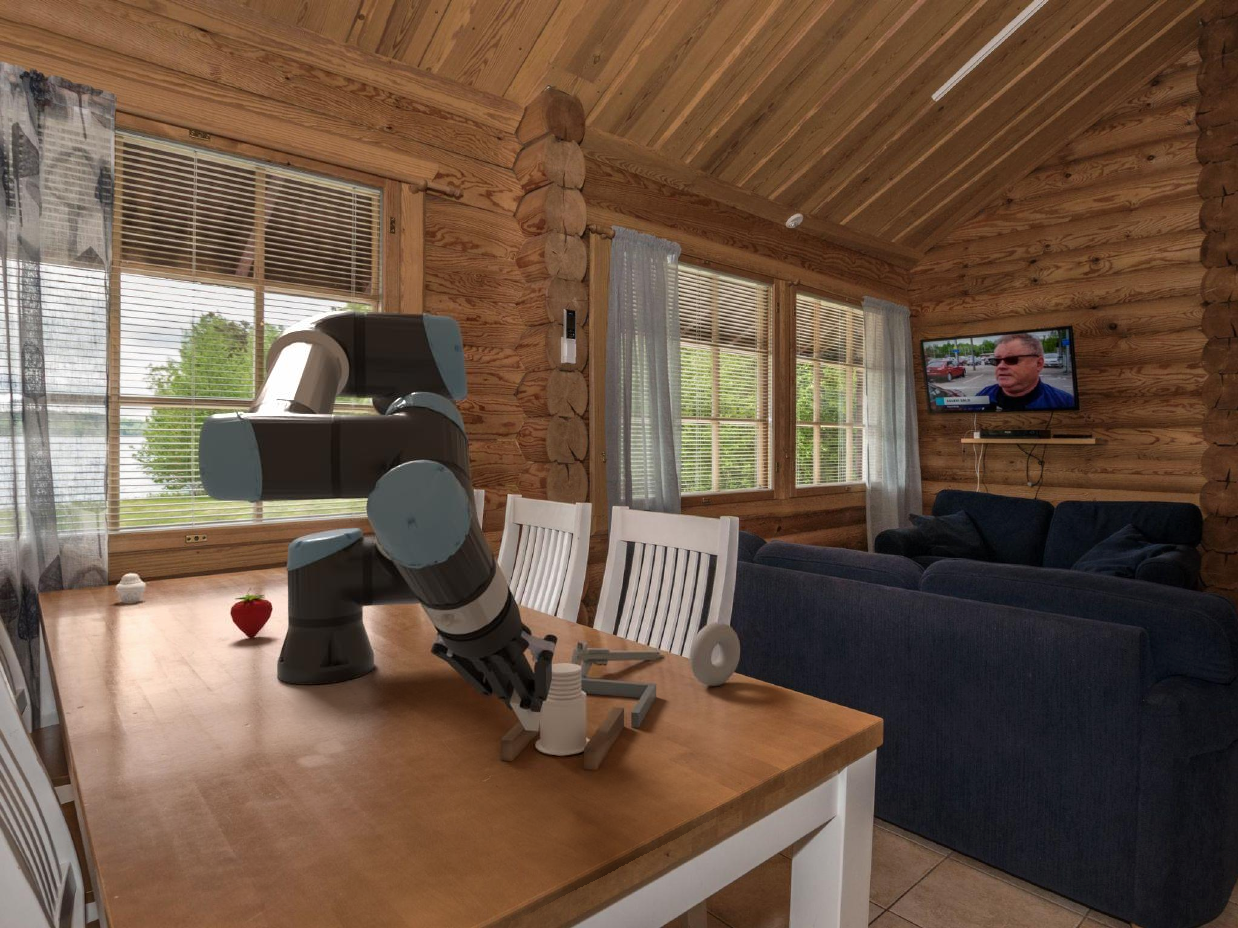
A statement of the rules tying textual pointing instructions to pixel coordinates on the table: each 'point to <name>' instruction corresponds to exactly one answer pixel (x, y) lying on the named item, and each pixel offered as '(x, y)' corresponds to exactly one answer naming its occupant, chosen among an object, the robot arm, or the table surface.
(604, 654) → the caliper
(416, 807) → the table surface
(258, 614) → the strawberry
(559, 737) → the downlight
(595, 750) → the slot
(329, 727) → the table surface
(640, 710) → the open frame
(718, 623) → the donut
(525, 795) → the table surface
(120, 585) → the muffin
